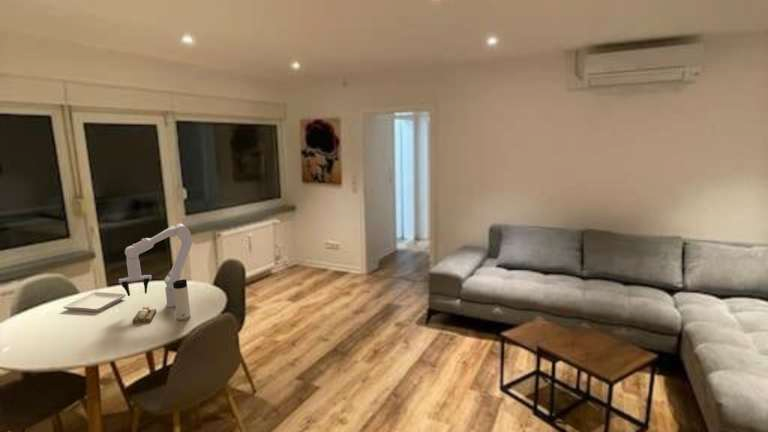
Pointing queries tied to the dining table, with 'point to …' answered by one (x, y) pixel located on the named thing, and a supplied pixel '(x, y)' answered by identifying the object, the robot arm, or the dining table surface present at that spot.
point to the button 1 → (142, 315)
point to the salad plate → (95, 301)
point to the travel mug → (181, 300)
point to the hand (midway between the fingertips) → (137, 294)
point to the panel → (148, 319)
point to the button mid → (145, 312)
